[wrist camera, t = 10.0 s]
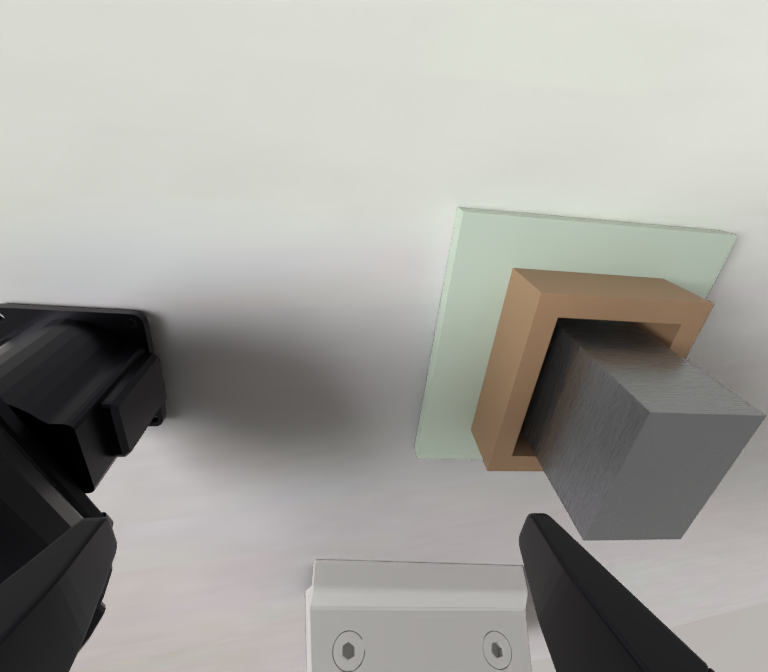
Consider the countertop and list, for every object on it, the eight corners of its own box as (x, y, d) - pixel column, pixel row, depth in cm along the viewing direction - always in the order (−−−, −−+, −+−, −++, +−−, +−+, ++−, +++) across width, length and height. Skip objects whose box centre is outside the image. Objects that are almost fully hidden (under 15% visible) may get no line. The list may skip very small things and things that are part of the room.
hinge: (527, 565, 31) (569, 751, 24) (501, 579, 34) (533, 745, 28) (309, 559, 28) (290, 765, 21) (306, 574, 32) (288, 756, 25)
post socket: (414, 446, 24) (426, 502, 20) (457, 207, 17) (485, 228, 14) (613, 449, 26) (656, 501, 22) (719, 230, 19) (804, 254, 16)
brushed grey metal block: (506, 405, 22) (583, 540, 15) (537, 305, 19) (650, 412, 12) (574, 407, 22) (680, 538, 15) (614, 310, 19) (766, 415, 12)
